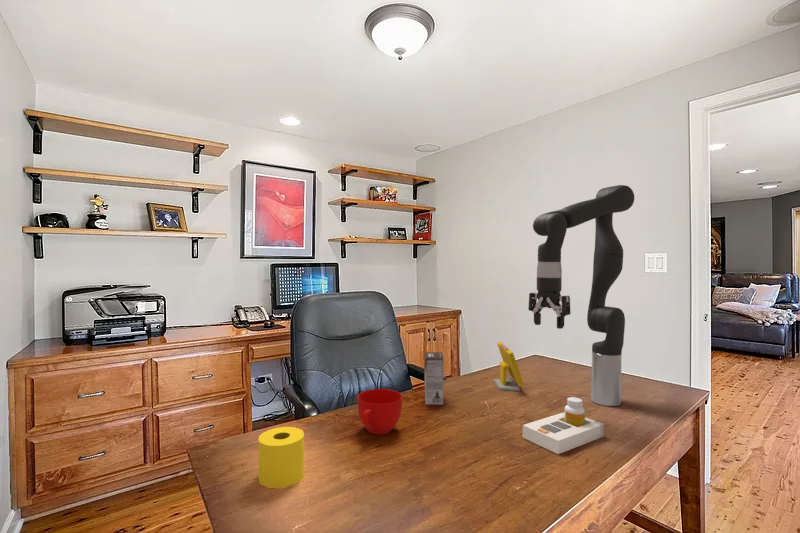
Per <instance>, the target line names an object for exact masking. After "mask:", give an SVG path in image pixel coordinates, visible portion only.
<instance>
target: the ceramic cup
mask: <svg viewBox="0 0 800 533" xmlns="http://www.w3.org/2000/svg"><path fill="white" fill-rule="evenodd" d="M402 405H403V396H402V394H401V393H400V392H398V391H396V390H392V389H385V388H375V389H374V388H373V389H369V390H365V391H361V392H360V393H358V395H357V409H358V411H357V412H358V415H359V419H360V422H361V423H362V425H363V426H364V428H365V429H366V430H367V431H368V432H369V434H372V435H376V436H380V435H381V436H382V435H387V434H390V433H391V431H392V430H393V429H394V428H395V426H397V424H398V422H399V419H400V417H401V414H402Z"/></svg>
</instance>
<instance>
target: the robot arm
mask: <svg viewBox="0 0 800 533" xmlns="http://www.w3.org/2000/svg"><path fill="white" fill-rule="evenodd" d="M634 203H635V192H634V191H633V189H632V187H630V186H628V185H625V184H618V185H613V186H607V187H602V188H601V189H599V190H598V191H597V192H596V195H595V198H591V199H588V200H587V199H586V200H584V201H579V202H576V203H573V204H570V205H567V206H565V207H563V208H561V209H557V210H553V211H549V212H545V213H542V214H539V215H538V216H536V217H535V219H534V221H533V224H532V228H533V232H534V233H535V234H536V235H538V236H541V237H546V240H545V242H544V243H543V242H542V243H541V244H540V245H539V246H537V247H538V248H537V266H536V291H537V292H530V293H529V294H528V307H527V308H528V311H531V312H532V313H533V323H534V325H535V326H540V325H541V323H542V321H541V320H542V314H541V313H542V311H543V309H544V308H548V309H551V310H552V311H554V312H555V314H556V329H559V330H560V329H564V328H565V318H566V317H565V316H569V315H571V297H570V295H561V291H562V283H563V282H562V273H563V272H562V270H563V269H562V248H563V244H564V240H565V237H566V234H567V229H571V228H574V227H576V226H580V225H582V224H584V223H586V222H589V221H591V220H595V234H594V235H595V238H594V252H593V263H592V266H593V267H592V281H591V289H590V297H589V301H588V302H589V304H588V308H587V315H586V317H587V318H586V320H587V321H586V322H587V325H588V328H589V330H591V331H593V332H596V333H603V334H605V339H604V340H602V341H595V342H593V343H592V346H591V347H592V348H591V389H590V390H591V391H590V392H591V395H590V396H591V397H590V398H591V402H594V403H595V404H597V405H601V406H606V407H616V406H617V407H618V406H620V405H621V402H622V400H623V397H622V396H623V393H622V392H623V375H622V352H623V348H624V340H625V330H626V329H625V326H626V318H625V316H626V315H625V312H624V311H623V309H621V308H619V307H615V306H606V300H607V295H608V293H609V290H610V289H611V287H612V285H613V284H614V283H615V282H616V280H617V279H618V278H619V277H620V275H621V273H622V271H623V264H624V263H623V262H624V248H623V246H622V243H621V241H620V240H619V238H618V236H617V234H616V232H615V230H614V226H613V217H614V213H623V212H625V211H628V210H629V209H630V208H632V206H633V205H634ZM560 302H561V303H560Z"/></svg>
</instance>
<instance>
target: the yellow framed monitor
mask: <svg viewBox="0 0 800 533" xmlns="http://www.w3.org/2000/svg"><path fill="white" fill-rule="evenodd" d="M496 344H497V346H498V349H499V353H500V355H501V356H500V357H501V359H502V361H500V362H499V378H493V383H494V384H495V385H496V387H497V389H498V390H500V391H506V392H507V391H508V392H521V388H520V387H522V386H524V381H523V379H522V378H523V377H522V376H521V371H520V370H519V367H518V363H517V360H516V358H515V357H516V356H515V355H514V351H512V350H510V349H509V347H507V346H506V345H505V344H504V343H503V342H502V341H498V342H497V343H496ZM507 373H508V375H509V376H510V377H511V378H510V377H508V378H507Z"/></svg>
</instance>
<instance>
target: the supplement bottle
mask: <svg viewBox="0 0 800 533" xmlns="http://www.w3.org/2000/svg"><path fill="white" fill-rule="evenodd" d="M566 399H567V401H566V402H567V404H566V405H565V406H564V412H565V423H568V424H570V425H573V426H575V427H580V426H583V425H585V417H586V410H585V408H584V407H583V404H584V403H583V399H581V398H579V397H575V396H574V397H573V396H570V397H568V398H566Z"/></svg>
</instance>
